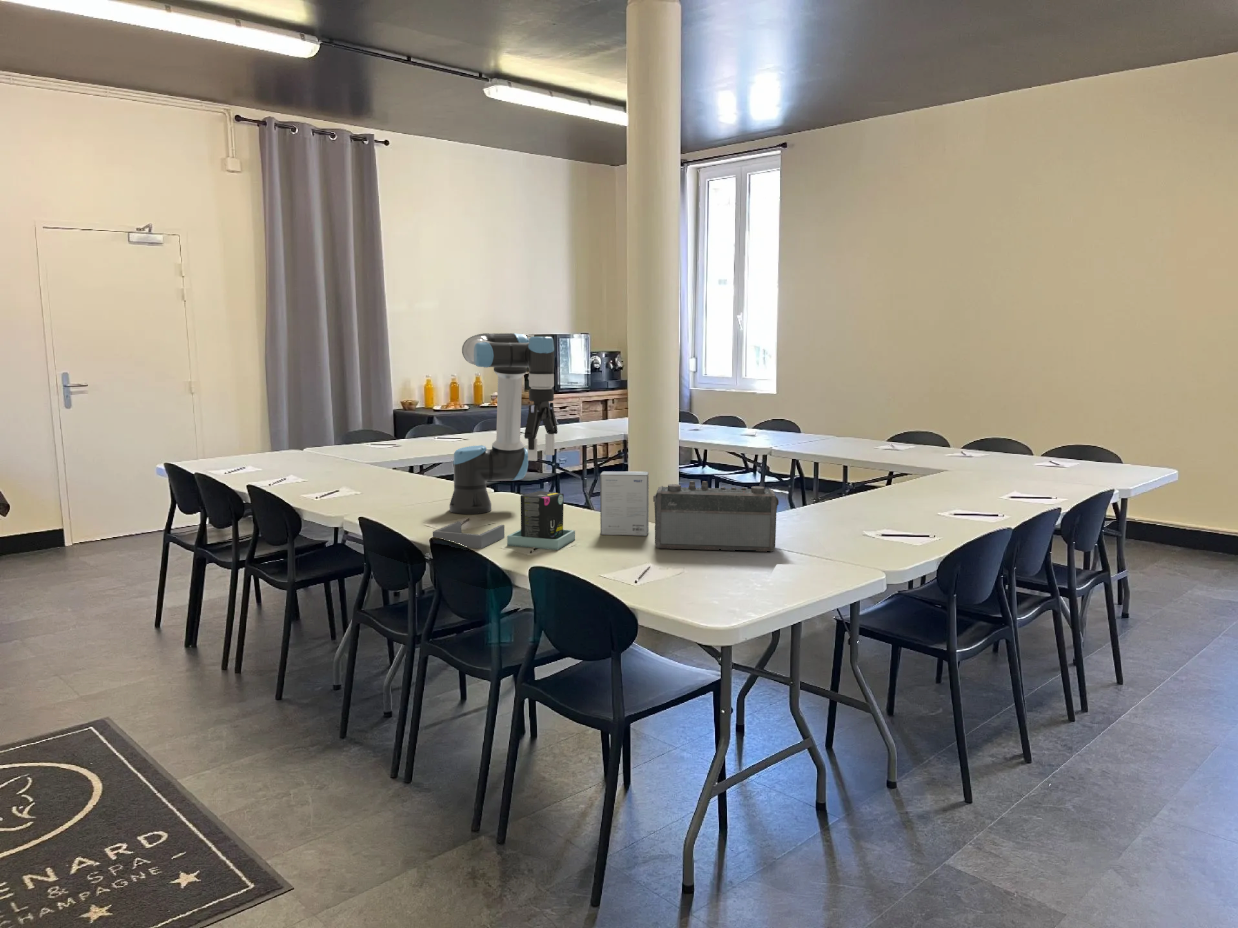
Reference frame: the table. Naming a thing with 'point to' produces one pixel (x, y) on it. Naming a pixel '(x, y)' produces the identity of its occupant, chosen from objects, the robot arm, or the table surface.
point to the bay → (469, 535)
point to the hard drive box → (624, 503)
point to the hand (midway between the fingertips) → (541, 457)
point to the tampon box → (542, 515)
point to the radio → (715, 518)
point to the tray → (541, 540)
